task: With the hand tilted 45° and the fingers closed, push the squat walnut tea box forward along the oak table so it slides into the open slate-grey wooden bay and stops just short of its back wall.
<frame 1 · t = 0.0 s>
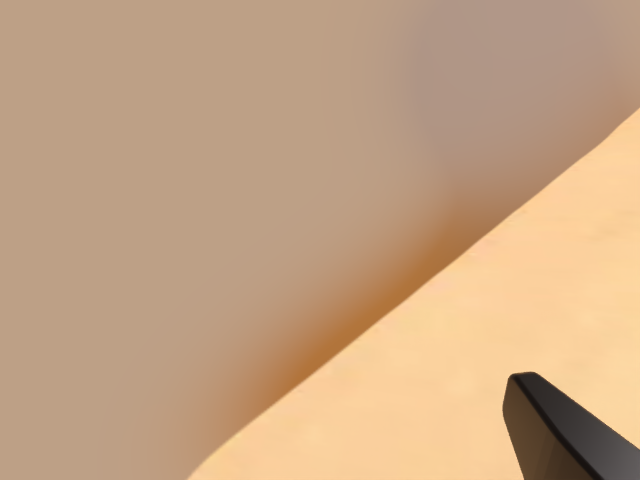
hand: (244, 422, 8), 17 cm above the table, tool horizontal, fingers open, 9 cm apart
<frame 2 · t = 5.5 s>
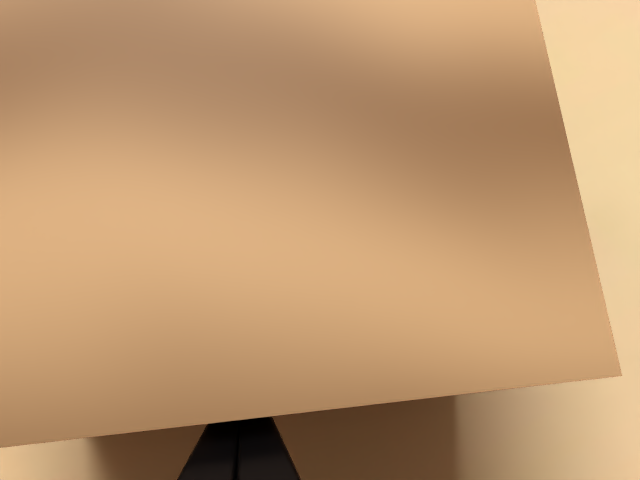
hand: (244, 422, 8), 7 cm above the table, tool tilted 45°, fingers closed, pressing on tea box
tea box: (258, 223, 16), on the table, touching gripper
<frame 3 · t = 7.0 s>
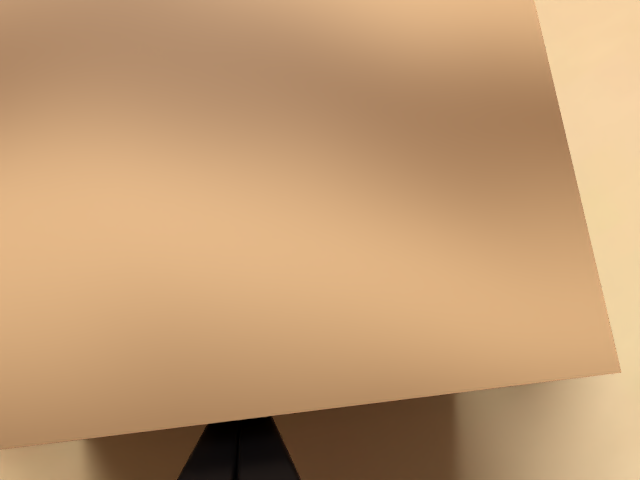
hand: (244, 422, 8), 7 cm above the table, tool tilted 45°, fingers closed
tea box: (254, 220, 16), on the table
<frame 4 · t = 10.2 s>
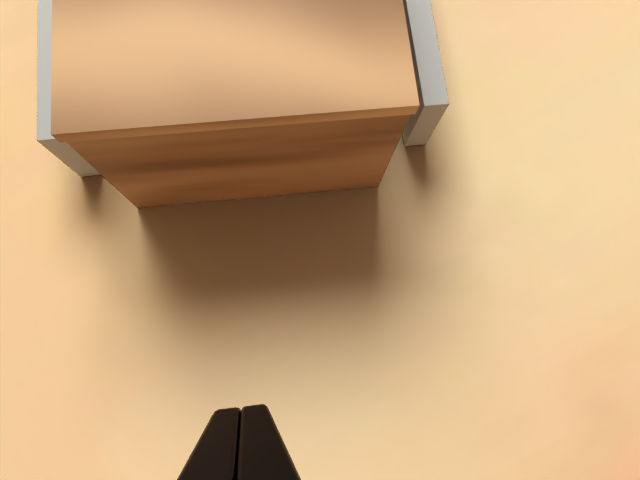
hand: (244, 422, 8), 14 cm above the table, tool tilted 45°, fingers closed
bay: (247, 59, 25), on the table
tea box: (251, 99, 25), on the table
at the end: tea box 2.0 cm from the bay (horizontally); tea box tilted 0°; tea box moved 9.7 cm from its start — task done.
